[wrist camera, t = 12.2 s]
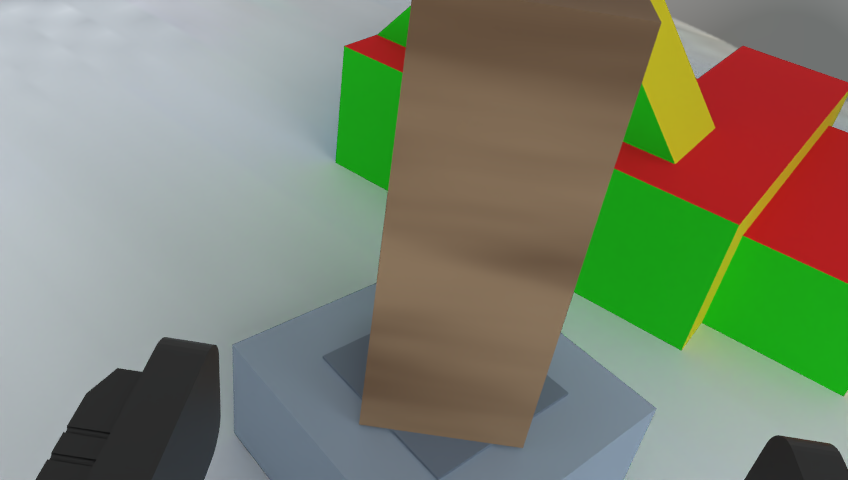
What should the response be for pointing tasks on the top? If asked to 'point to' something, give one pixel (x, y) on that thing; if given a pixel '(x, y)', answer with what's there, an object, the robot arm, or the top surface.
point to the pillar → (494, 203)
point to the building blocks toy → (691, 197)
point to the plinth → (407, 451)
